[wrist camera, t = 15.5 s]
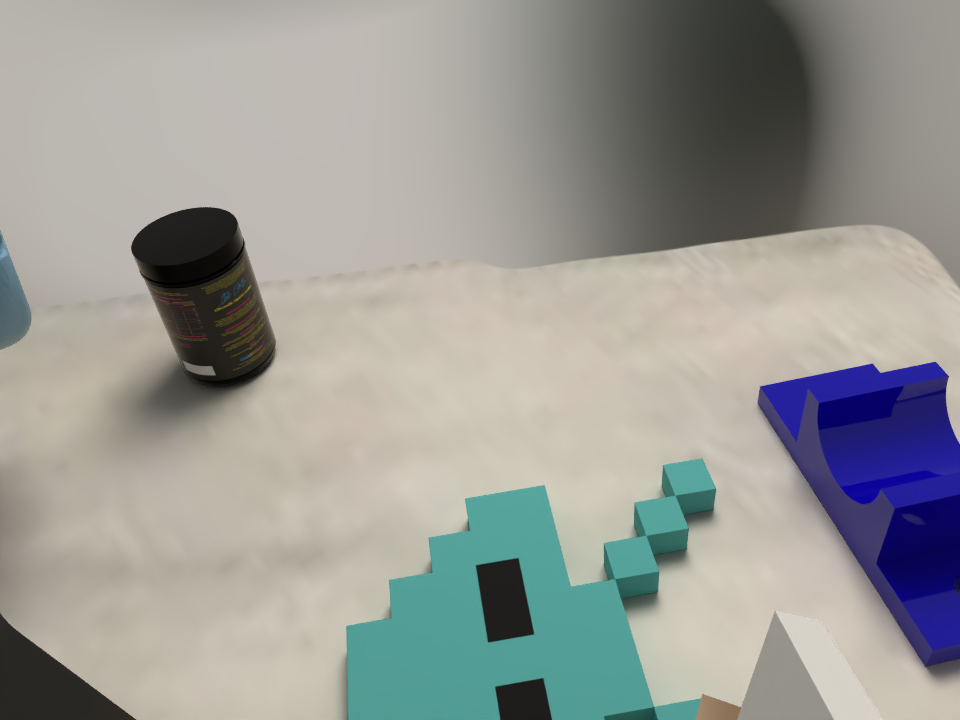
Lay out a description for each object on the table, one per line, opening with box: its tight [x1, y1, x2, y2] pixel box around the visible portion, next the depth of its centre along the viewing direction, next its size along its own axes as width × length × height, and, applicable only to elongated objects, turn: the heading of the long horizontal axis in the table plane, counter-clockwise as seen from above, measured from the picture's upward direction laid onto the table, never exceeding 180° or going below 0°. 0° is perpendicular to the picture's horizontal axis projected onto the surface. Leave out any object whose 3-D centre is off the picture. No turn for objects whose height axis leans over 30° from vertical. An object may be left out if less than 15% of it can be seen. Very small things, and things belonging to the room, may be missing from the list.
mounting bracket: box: [758, 362, 960, 667], centre depth 45 cm, size 18×7×6 cm, turn 11°
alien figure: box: [346, 459, 716, 720], centre depth 40 cm, size 20×2×20 cm
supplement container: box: [131, 207, 276, 386], centre depth 58 cm, size 7×7×10 cm
